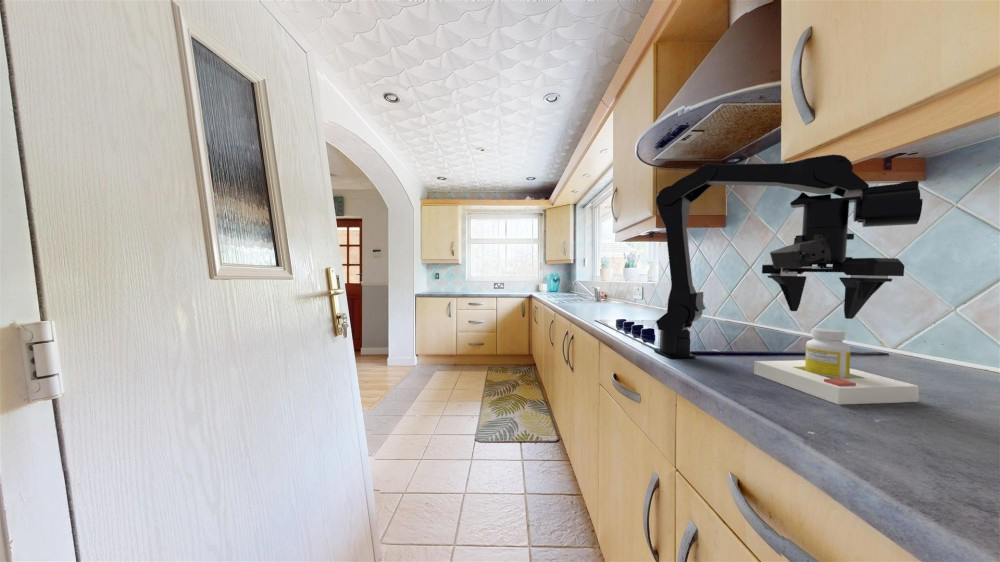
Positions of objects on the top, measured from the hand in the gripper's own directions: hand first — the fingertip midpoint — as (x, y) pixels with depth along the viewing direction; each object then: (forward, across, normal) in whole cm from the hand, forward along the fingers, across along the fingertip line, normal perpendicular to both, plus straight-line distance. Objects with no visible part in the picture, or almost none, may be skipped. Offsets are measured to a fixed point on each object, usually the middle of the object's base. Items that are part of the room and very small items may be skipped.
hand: (819, 314), depth 57 cm
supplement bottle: (+12, +3, -1) cm, 13 cm away
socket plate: (+12, +3, -1) cm, 13 cm away
